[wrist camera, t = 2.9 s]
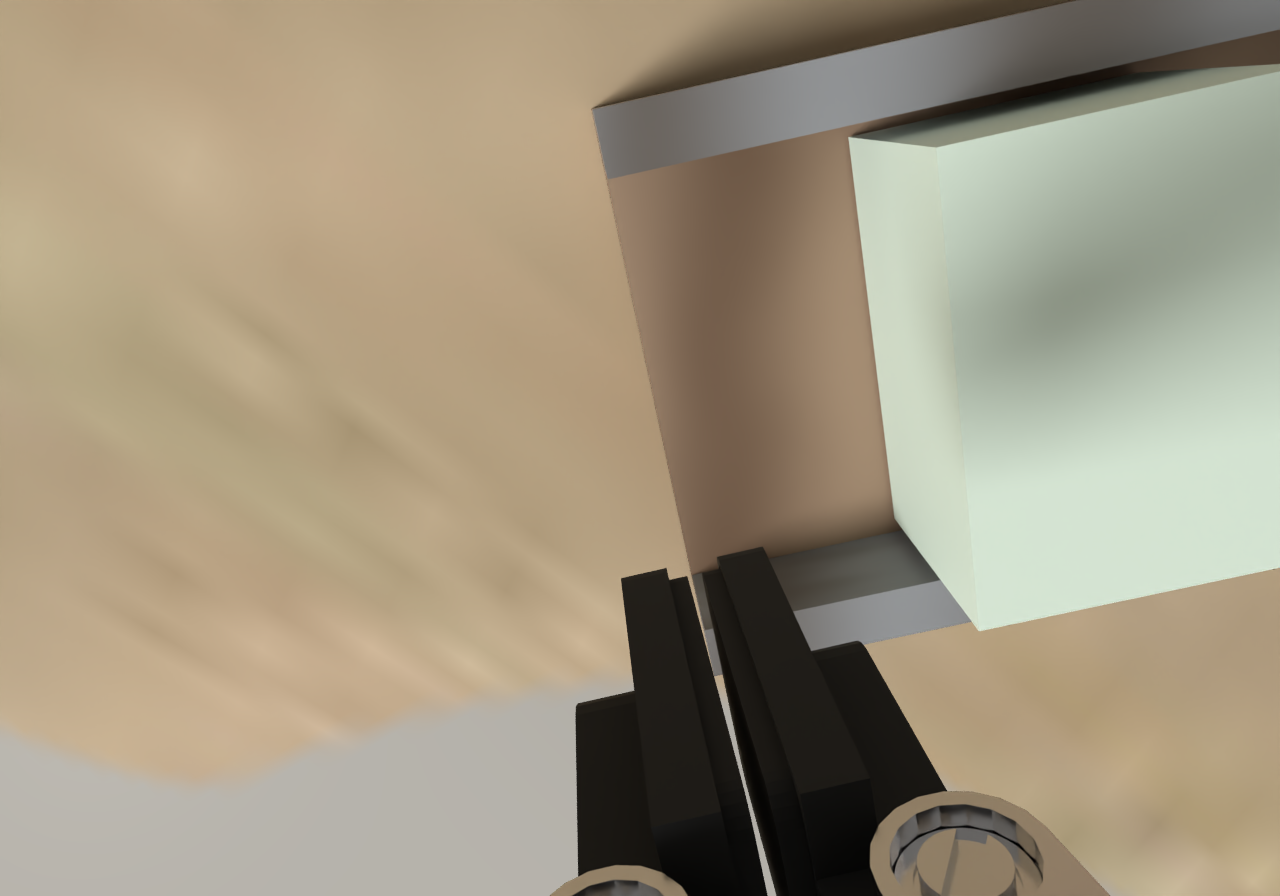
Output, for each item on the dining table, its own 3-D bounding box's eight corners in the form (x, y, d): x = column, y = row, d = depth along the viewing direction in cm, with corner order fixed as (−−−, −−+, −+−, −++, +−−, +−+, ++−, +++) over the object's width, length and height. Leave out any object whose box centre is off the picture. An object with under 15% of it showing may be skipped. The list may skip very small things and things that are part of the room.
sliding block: (1138, 71, 19) (1324, 60, 14) (1143, 465, 22) (1297, 564, 17) (848, 136, 19) (936, 147, 14) (894, 518, 22) (979, 631, 17)
